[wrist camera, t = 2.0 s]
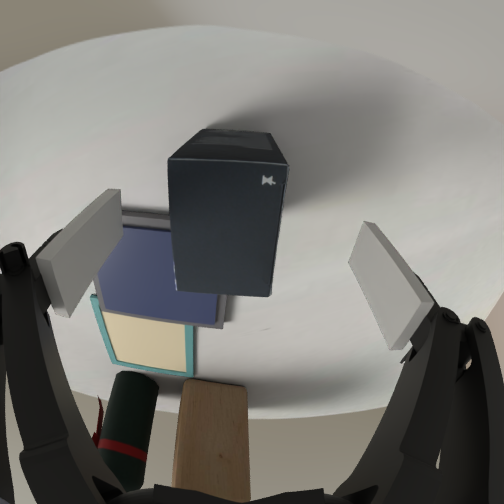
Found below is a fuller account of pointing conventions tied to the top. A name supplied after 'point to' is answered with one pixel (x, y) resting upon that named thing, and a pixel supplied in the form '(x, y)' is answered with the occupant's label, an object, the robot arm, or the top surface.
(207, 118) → the top surface
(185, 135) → the top surface
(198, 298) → the ink pad
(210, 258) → the box
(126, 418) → the wine bottle
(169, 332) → the print frame
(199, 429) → the wooden block
